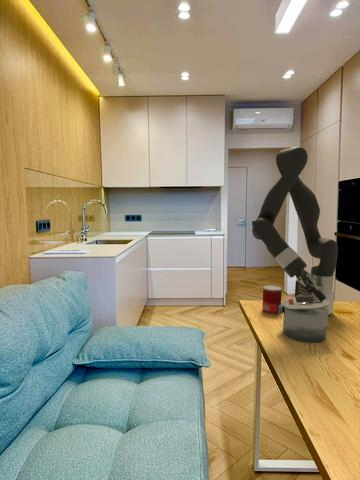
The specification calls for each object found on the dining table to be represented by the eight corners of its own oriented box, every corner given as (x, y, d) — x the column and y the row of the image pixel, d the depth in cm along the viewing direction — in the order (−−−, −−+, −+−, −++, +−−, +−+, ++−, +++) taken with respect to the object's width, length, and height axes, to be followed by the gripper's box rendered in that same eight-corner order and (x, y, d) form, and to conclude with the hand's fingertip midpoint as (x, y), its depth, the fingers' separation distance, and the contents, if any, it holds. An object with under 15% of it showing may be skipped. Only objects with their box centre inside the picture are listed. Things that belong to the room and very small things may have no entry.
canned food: (281, 315, 142) (282, 290, 141) (262, 313, 143) (263, 289, 142) (279, 309, 149) (280, 286, 148) (261, 308, 151) (262, 284, 150)
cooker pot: (273, 335, 120) (274, 309, 119) (284, 323, 132) (285, 299, 131) (322, 346, 111) (324, 318, 110) (329, 332, 123) (330, 306, 122)
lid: (277, 309, 118) (276, 301, 117) (289, 298, 131) (288, 291, 131) (325, 310, 109) (324, 301, 109) (332, 298, 122) (331, 291, 122)
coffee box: (292, 316, 140) (294, 280, 138) (303, 314, 143) (305, 278, 141) (309, 324, 132) (311, 285, 130) (320, 321, 135) (323, 283, 133)
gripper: (293, 258, 114) (329, 298, 109) (302, 253, 125) (335, 289, 120) (277, 271, 118) (311, 310, 112) (287, 265, 129) (318, 301, 123)
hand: (323, 299), depth 116 cm, fingers closed
